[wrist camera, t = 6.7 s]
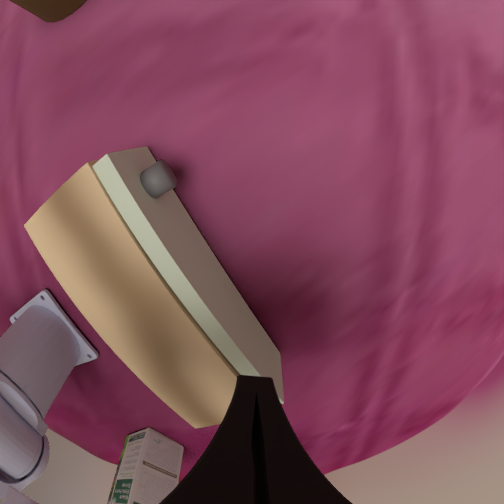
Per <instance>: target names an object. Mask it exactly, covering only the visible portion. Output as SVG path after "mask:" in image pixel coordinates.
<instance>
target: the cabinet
mask: <svg viewBox="0 0 504 504" xmlns="http://www.w3.org/2000/svg"><path fill="white" fill-rule="evenodd" d="M99 160H100V159H99ZM99 160H95V161H91V162H87V163H86V164H85V165H84V166H83V167H82V168H80V169H79V170H78V171H77V172H76V173H75V174H74V175H73V176H72V177H71V178H69V179H68V180H67V181H66V182H65V183H64V184H63V185H62V186H61V187H60V188H59V189H58V190H57V191H56V192H55V193H54V194H53V195H52V196H51V197H50V198H49V199H48V200H47V201H46V202H45V203H44V204H43V205H42V206H41V207H40V208H39V209H38V211H37V212H36V213H35V214H34V215H33V216H32V217H31V218H30V219H29V220H28V222H27V223H26V224H25V225H24V226H25V228H26V230H27V232H28V234H29V235H30V237H31V239H32V241H33V242H34V244H35V246H36V247H37V249H38V251H39V252H40V254H41V256H42V257H43V259H44V260H45V262H46V264H47V265H48V267H49V268H50V270H51V271H52V273H53V274H54V276H55V277H56V279H57V280H58V282H59V283H60V285H61V286H62V287H63V289H64V290H65V292H66V293H67V294H68V296H69V297H70V298H71V300H72V301H73V303H74V304H75V305H76V307H77V308H78V309H79V310H80V312H81V313H82V314H83V316H84V317H85V318H86V319H87V321H88V322H89V323H90V324H91V326H92V327H93V328H94V329H95V330H96V332H97V333H98V334H99V335H100V336H101V338H102V339H103V340H104V341H105V342H106V343H107V345H108V346H109V347H110V348H111V349H112V350H113V351H114V352H115V353H116V355H117V356H118V357H119V358H120V359H121V360H122V361H123V362H124V363H125V364H126V365H127V366H128V367H129V368H130V369H131V371H132V372H133V373H134V374H135V375H136V376H137V377H138V378H139V379H140V380H141V381H142V382H143V383H144V384H145V385H146V386H148V387H149V388H150V389H151V390H152V391H153V392H154V393H155V394H156V395H157V396H158V397H159V398H160V399H161V400H162V401H164V402H165V403H166V404H167V405H168V406H169V407H170V408H171V409H173V410H174V411H175V412H176V413H177V414H178V415H179V416H181V417H182V418H183V419H184V420H185V421H187V422H188V423H189V424H190V425H191V426H193V427H194V428H201V427H207V426H212V425H217V424H221V422H222V421H223V419H224V416H225V414H226V412H227V409H228V407H229V405H230V402H231V400H232V397H233V394H234V390H235V387H236V381H237V376H239V375H240V373H239V372H238V371H237V370H236V369H235V368H234V367H233V365H232V364H231V363H230V362H229V361H228V360H227V358H226V357H225V356H224V355H223V354H222V352H221V351H220V350H219V349H218V348H217V346H216V345H215V344H214V343H213V342H212V340H211V339H210V338H209V337H208V335H207V334H206V333H205V332H204V330H203V329H202V328H201V327H200V325H199V324H198V323H197V322H196V320H195V319H194V318H193V316H192V315H191V314H190V313H189V311H188V310H187V309H186V307H185V306H184V305H183V303H182V302H181V301H180V299H179V298H178V297H177V295H176V294H175V293H174V291H173V290H172V289H171V287H170V286H169V285H168V283H167V282H166V280H165V279H164V278H163V276H162V275H161V274H160V272H159V271H158V269H157V268H156V266H155V265H154V264H153V262H152V261H151V259H150V258H149V256H148V255H147V254H146V252H145V251H144V249H143V248H142V246H141V245H140V243H139V242H138V240H137V239H136V237H135V236H134V234H133V233H132V231H131V230H130V228H129V227H128V225H127V223H126V222H125V220H124V219H123V217H122V216H121V214H120V212H119V211H118V209H117V208H116V206H115V204H114V203H113V201H112V200H111V198H110V196H109V195H108V193H107V191H106V190H105V188H104V186H103V185H102V183H101V181H100V179H99V178H98V176H97V174H96V173H95V171H94V169H93V167H92V166H93V165H94V164H95V163H97V162H98V161H99Z"/></svg>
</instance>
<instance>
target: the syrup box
mask: <svg viewBox="0 0 504 504" xmlns="http://www.w3.org/2000/svg"><path fill="white" fill-rule="evenodd" d="M183 452H184V447H183V446H182V445H180V444H179V443H177V442H175V441H174V440H172V439H170V438H168V437H166V436H164V435H163V434H161V433H159V432H157V431H155V430H154V429H152V428H150V427H148V428H146V429H144V430H141V431H138V432H136V433H133V434H130V435H128V436H127V437H126V441H125V444H124V447H123V450H122V454H121V457H120V460H119V464H118V467H117V470H116V474H115V477H114V481H113V484H112V488H111V491H110V495H109V499H108V502H107V504H159V503H160V502H161V501H162V500H163V499H164V498H165V497H166V496H167V495H168V494H170V493H171V492H172V491H173V490H174V489H175V487H176V486H177V485H178V481H179V475H180V469H181V463H182V458H183Z"/></svg>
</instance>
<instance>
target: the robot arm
mask: <svg viewBox="0 0 504 504" xmlns="http://www.w3.org/2000/svg"><path fill="white" fill-rule="evenodd" d="M10 321H11V323H12V325H11V326H10V327H9V328H8V329H7V331H6V332H5V333H4V334H3V335H2V336H1V337H0V498H3V501H2V504H39V503H37V502H35V501H34V500H32V499H30V498H29V497H27V496H26V495H24V494H22V493H21V491H22V490H23V489H24V487H26V486H27V485H28V484H30V483H31V482H33V481H35V480H36V479H38V478H39V477H40V475H42V473H43V472H44V470H45V468H46V466H47V463H48V460H49V442H48V439H47V437H46V436H45V432H46V430H47V428H48V426H47V425H46V424H45V423H44V421H43V419H44V417H45V416H46V414H47V412H48V410H49V408H50V407H51V405H52V403H53V401H54V400H55V398H56V396H57V394H58V393H59V391H60V389H61V388H62V386H63V384H64V383H65V381H66V379H67V378H68V376H69V374H70V373H71V371H72V370H73V368H74V366H77V365H80V364H83V363H86V362H89V361H91V360H94V359H97V357H98V352H97V351H96V350H95V349H94V348H93V347H92V345H91V344H90V343H89V342H88V341H87V340H86V339H85V337H84V336H83V335H82V334H81V333H80V331H79V330H78V329H77V328H76V326H75V325H74V324H73V323H72V321H71V320H70V319H69V318H68V316H67V315H66V314H65V312H64V311H63V310H62V309H61V307H60V306H59V305H58V303H57V302H56V300H55V299H54V298H53V296H52V295H51V293H50V292H49V291H48V290H47V289H44V290H42V291H41V292H40V293H39V294H37V295H36V296H35V297H34V298H33V299H31V300H30V301H29V302H28V303H26V304H25V305H24V306H23V307H22V308H20V309H19V310H18V311H17V312H16V313H15V314H13V315H12V316H11V317H10ZM159 504H352V503H351V502H350V501H349V500H347V499H346V498H345V497H344V496H343V495H342V494H341V493H340V492H339V491H338V490H337V489H336V488H335V487H334V486H333V485H332V484H331V483H330V482H329V481H328V480H327V478H326V477H325V476H324V475H323V474H322V473H321V471H320V470H319V469H318V468H317V466H316V465H315V464H314V462H313V461H312V460H311V458H310V457H309V455H308V454H307V453H306V451H305V450H304V448H303V446H302V445H301V443H300V441H299V440H298V438H297V436H296V434H295V433H294V431H293V429H292V427H291V425H290V423H289V421H288V419H287V417H286V414H285V412H284V410H283V408H282V405H281V403H280V400H279V397H278V395H277V392H276V389H275V385H274V382H273V379H272V378H271V377H260V376H249V375H239V376H237V381H236V387H235V390H234V394H233V397H232V400H231V402H230V405H229V407H228V409H227V412H226V414H225V416H224V419H223V421H222V422H221V424H220V426H219V428H218V430H217V432H216V434H215V435H214V437H213V439H212V441H211V442H210V444H209V445H208V447H207V448H206V450H205V451H204V453H203V454H202V456H201V457H200V459H199V460H198V461H197V463H196V464H195V465H194V467H193V468H192V469H191V470H190V472H189V473H188V474H187V475H186V476H185V477H184V479H183V480H182V481H181V482H180V483H179V484H178V485H177V486H176V487H175V489H174V490H173V491H172V492H171V493H170V494H168V495H167V496H166V497H165V498H164V499H163V500H162V501H161V502H160V503H159Z"/></svg>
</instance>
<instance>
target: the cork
mask: <svg viewBox="0 0 504 504" xmlns="http://www.w3.org/2000/svg"><path fill="white" fill-rule="evenodd" d="M10 1H11V2H13V3H15V4H17V5H19V6H20V7H22V8H24V9H26V10H27V11H29V12H31V13H32V14H34V15H36V16H37V17H39V18H41V19H42V20H44V21H46V22H56V21H59V20H62V19H64V18H65V17H67V16H69V15H70V14H72V13H73V12H74V11H76V10H77V9H78V8H79V7H80V6H82V5H83V4H84V2H85V1H86V0H10Z"/></svg>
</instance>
